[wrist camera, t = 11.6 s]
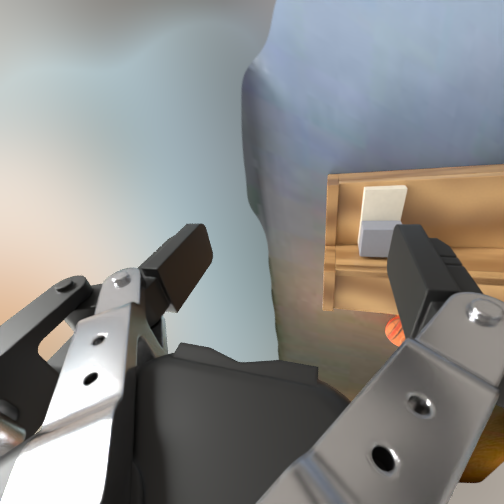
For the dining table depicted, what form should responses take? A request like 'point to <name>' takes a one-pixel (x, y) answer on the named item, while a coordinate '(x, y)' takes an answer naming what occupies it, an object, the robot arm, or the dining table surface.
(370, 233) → the block chair shape
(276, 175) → the dining table surface
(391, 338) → the pot
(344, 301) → the stepped wooden ledge
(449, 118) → the dining table surface
